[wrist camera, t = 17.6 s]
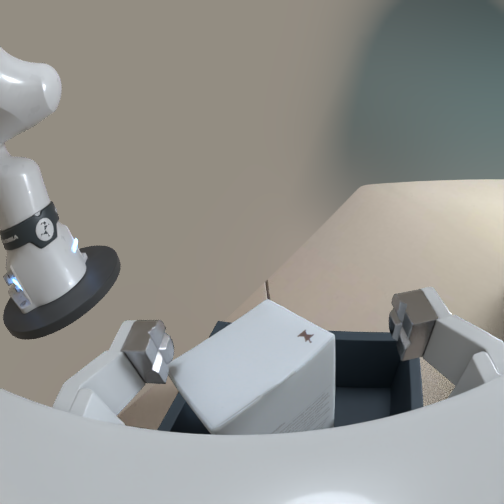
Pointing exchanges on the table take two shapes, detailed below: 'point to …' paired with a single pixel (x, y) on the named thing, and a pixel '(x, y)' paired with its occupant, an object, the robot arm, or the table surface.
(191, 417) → the bin
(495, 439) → the robot arm
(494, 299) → the table surface
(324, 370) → the cosmetic box
